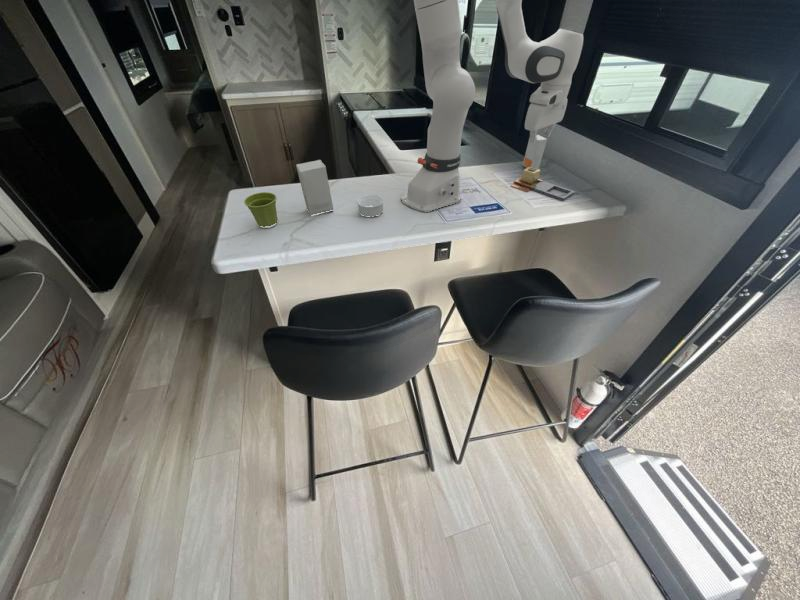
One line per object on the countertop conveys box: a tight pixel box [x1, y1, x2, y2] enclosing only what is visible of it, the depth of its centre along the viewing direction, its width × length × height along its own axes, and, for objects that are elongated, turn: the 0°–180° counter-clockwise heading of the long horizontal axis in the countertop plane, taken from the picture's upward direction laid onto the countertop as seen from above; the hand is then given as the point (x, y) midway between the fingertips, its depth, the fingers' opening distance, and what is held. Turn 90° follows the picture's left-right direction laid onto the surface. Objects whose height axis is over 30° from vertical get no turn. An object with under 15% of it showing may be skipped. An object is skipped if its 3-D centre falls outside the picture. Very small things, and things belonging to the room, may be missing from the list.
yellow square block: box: [520, 167, 541, 186], centre depth 122 cm, size 4×4×6 cm
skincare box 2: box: [522, 134, 548, 170], centre depth 132 cm, size 6×4×12 cm
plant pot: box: [243, 191, 279, 227], centre depth 101 cm, size 9×9×9 cm
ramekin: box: [356, 194, 384, 217], centre depth 108 cm, size 9×9×4 cm
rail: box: [510, 176, 575, 202], centre depth 120 cm, size 11×20×1 cm, turn 43°
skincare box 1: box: [295, 159, 334, 216], centre depth 105 cm, size 8×7×16 cm
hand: (539, 139), depth 113 cm, fingers open, 8 cm apart
